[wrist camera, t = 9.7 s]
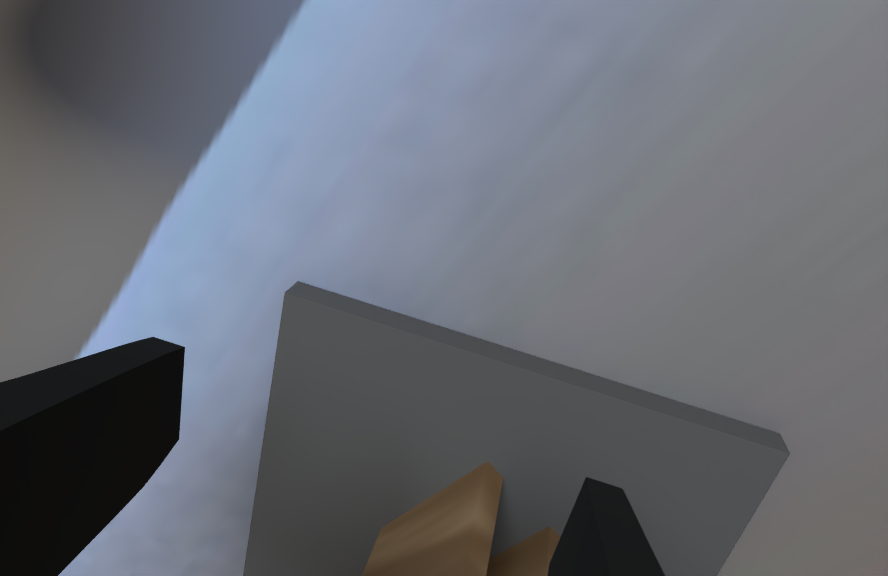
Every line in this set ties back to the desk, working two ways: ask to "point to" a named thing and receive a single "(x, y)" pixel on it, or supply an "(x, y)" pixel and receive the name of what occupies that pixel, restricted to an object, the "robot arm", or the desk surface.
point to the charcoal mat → (477, 443)
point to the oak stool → (458, 536)
